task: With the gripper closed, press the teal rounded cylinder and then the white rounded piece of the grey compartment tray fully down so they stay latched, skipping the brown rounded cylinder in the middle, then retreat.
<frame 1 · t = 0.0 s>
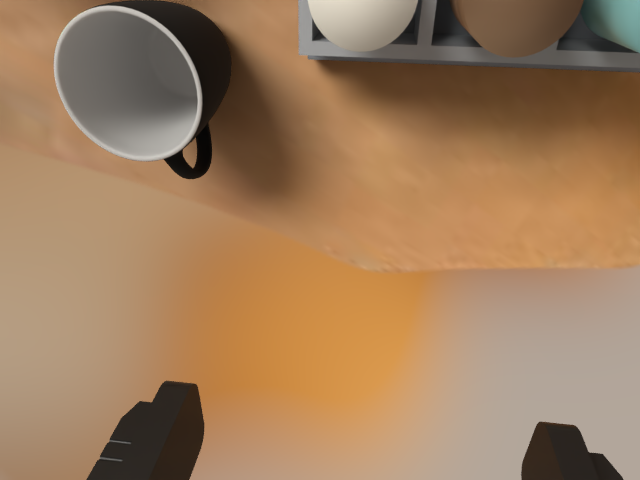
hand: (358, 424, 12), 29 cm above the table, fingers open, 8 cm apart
mug: (197, 76, 37), on the table
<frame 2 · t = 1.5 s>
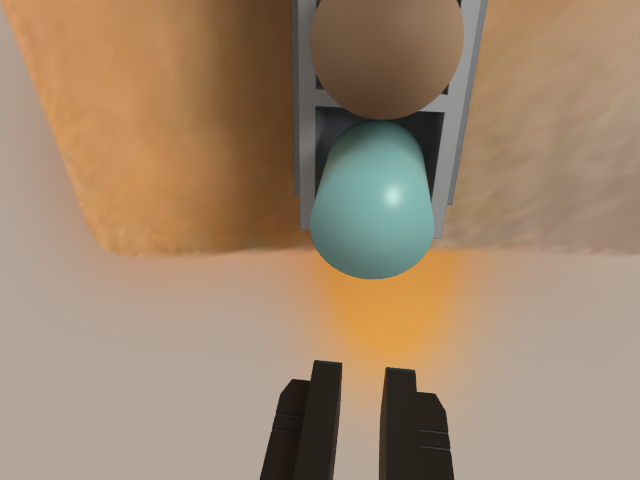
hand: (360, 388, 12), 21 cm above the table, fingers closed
teal rounded cylinder: (373, 194, 22), point 9 cm above the table, slide at 0.0 cm
brown rounded cylinder: (385, 30, 19), point 9 cm above the table, slide at 0.0 cm
grey compartment tray: (386, 5, 27), on the table
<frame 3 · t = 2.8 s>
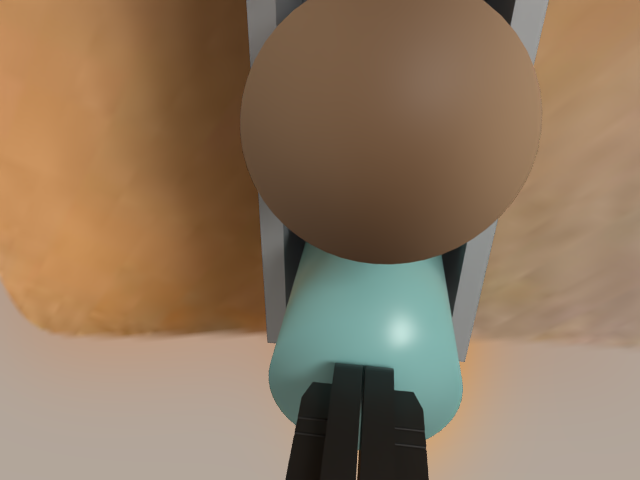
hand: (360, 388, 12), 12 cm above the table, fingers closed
teal rounded cylinder: (368, 309, 15), point 9 cm above the table, slide at 0.8 cm, touching gripper
brown rounded cylinder: (386, 92, 11), point 9 cm above the table, slide at 0.0 cm
grey compartment tray: (388, 30, 19), on the table
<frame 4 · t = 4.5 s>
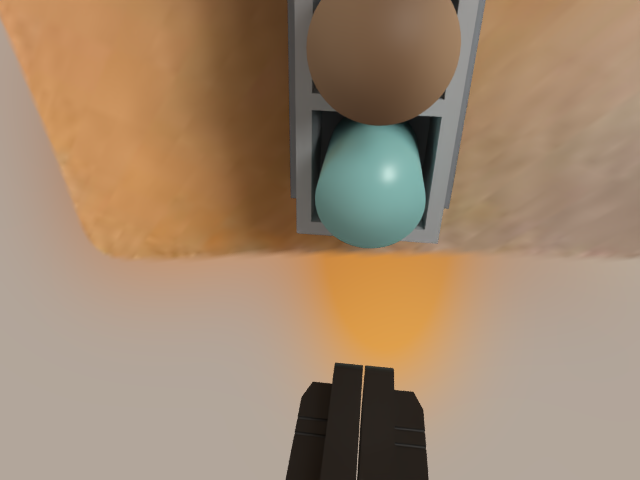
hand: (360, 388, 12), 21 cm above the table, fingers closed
teal rounded cylinder: (371, 173, 25), point 6 cm above the table, slide at 3.0 cm
brown rounded cylinder: (382, 35, 18), point 9 cm above the table, slide at 0.0 cm
grey compartment tray: (383, 8, 27), on the table
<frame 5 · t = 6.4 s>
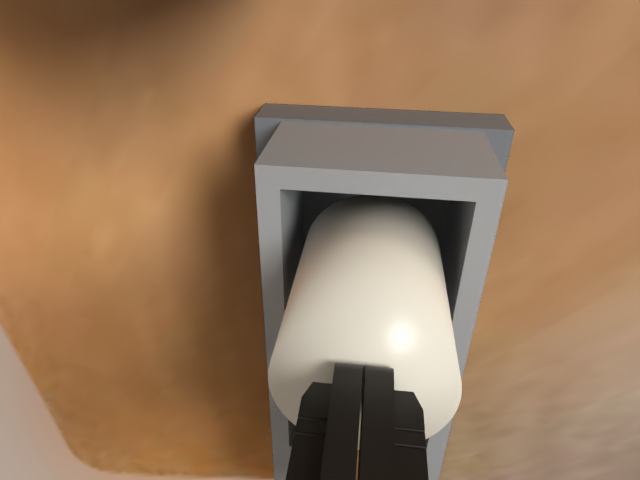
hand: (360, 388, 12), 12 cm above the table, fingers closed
brown rounded cylinder: (354, 473, 18), point 9 cm above the table, slide at 0.0 cm
white rounded piece: (367, 309, 15), point 8 cm above the table, slide at 1.1 cm, touching gripper
grey compartment tray: (365, 311, 26), on the table
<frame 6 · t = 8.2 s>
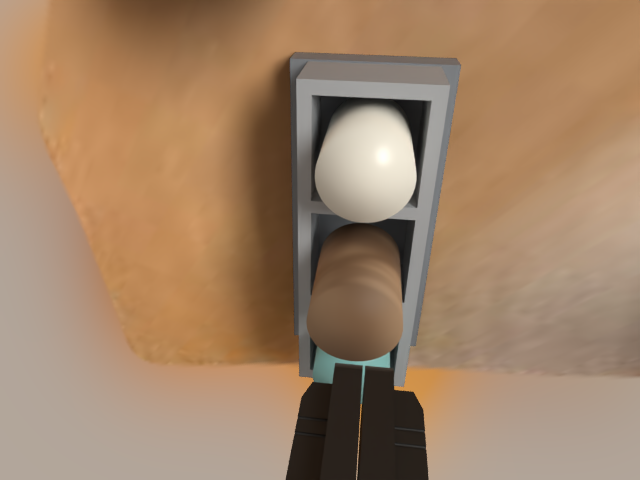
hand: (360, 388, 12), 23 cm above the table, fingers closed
teal rounded cylinder: (353, 342, 34), point 6 cm above the table, slide at 3.0 cm
brown rounded cylinder: (357, 288, 28), point 9 cm above the table, slide at 0.0 cm
white rounded piece: (367, 154, 27), point 6 cm above the table, slide at 3.0 cm
grey compartment tray: (363, 211, 36), on the table
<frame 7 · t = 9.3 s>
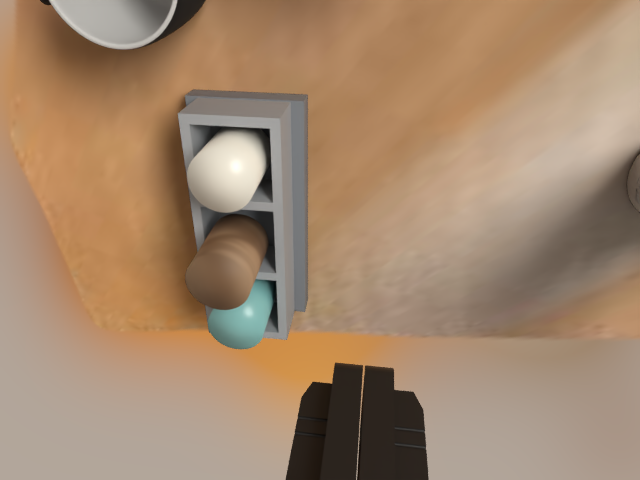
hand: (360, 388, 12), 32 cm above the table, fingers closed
teal rounded cylinder: (244, 304, 45), point 6 cm above the table, slide at 3.0 cm
brown rounded cylinder: (229, 260, 39), point 9 cm above the table, slide at 0.0 cm
white rounded piece: (232, 165, 38), point 6 cm above the table, slide at 3.0 cm
grey compartment tray: (256, 206, 47), on the table
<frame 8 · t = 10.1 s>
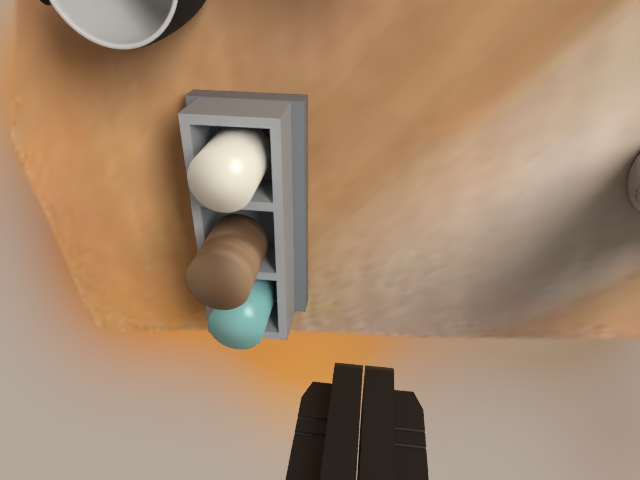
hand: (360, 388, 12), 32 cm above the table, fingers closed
teal rounded cylinder: (245, 304, 45), point 6 cm above the table, slide at 3.0 cm
brown rounded cylinder: (229, 260, 39), point 9 cm above the table, slide at 0.0 cm
white rounded piece: (232, 165, 38), point 6 cm above the table, slide at 3.0 cm
grey compartment tray: (257, 206, 47), on the table
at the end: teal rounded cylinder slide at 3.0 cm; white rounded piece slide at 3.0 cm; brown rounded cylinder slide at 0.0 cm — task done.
